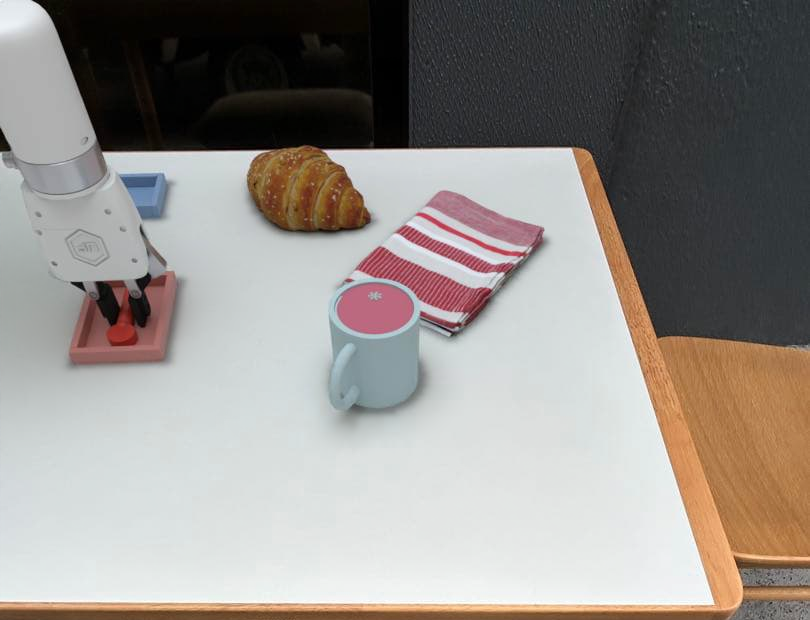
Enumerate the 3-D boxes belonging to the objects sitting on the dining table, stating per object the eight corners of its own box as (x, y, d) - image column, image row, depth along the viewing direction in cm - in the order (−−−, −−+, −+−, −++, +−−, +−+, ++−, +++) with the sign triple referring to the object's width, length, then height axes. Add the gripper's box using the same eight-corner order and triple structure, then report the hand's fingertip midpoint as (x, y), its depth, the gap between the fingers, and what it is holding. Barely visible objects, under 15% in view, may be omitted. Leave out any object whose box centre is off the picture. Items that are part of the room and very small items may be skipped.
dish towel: (545, 242, 89) (549, 224, 87) (455, 342, 78) (456, 324, 76) (438, 201, 94) (439, 183, 91) (339, 290, 83) (338, 272, 81)
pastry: (387, 212, 92) (386, 153, 85) (327, 258, 87) (321, 199, 80) (277, 163, 99) (268, 104, 92) (214, 203, 93) (200, 144, 86)
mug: (361, 342, 78) (356, 268, 70) (431, 368, 76) (435, 295, 68) (298, 419, 72) (285, 347, 63) (373, 450, 70) (370, 380, 61)
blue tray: (56, 223, 90) (49, 208, 88) (68, 189, 94) (62, 175, 93) (160, 220, 91) (156, 205, 89) (168, 187, 95) (163, 172, 93)
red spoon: (121, 294, 82) (117, 283, 80) (148, 293, 82) (143, 282, 80) (107, 350, 76) (102, 339, 75) (136, 349, 76) (131, 338, 75)
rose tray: (164, 363, 76) (159, 349, 74) (75, 367, 76) (68, 352, 74) (178, 285, 84) (174, 270, 82) (97, 287, 83) (91, 273, 81)
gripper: (-34, 188, 61) (54, 344, 77) (143, 182, 62) (195, 338, 77) (-13, 145, 65) (68, 302, 81) (154, 140, 66) (202, 296, 81)
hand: (130, 318), depth 79 cm, fingers closed
